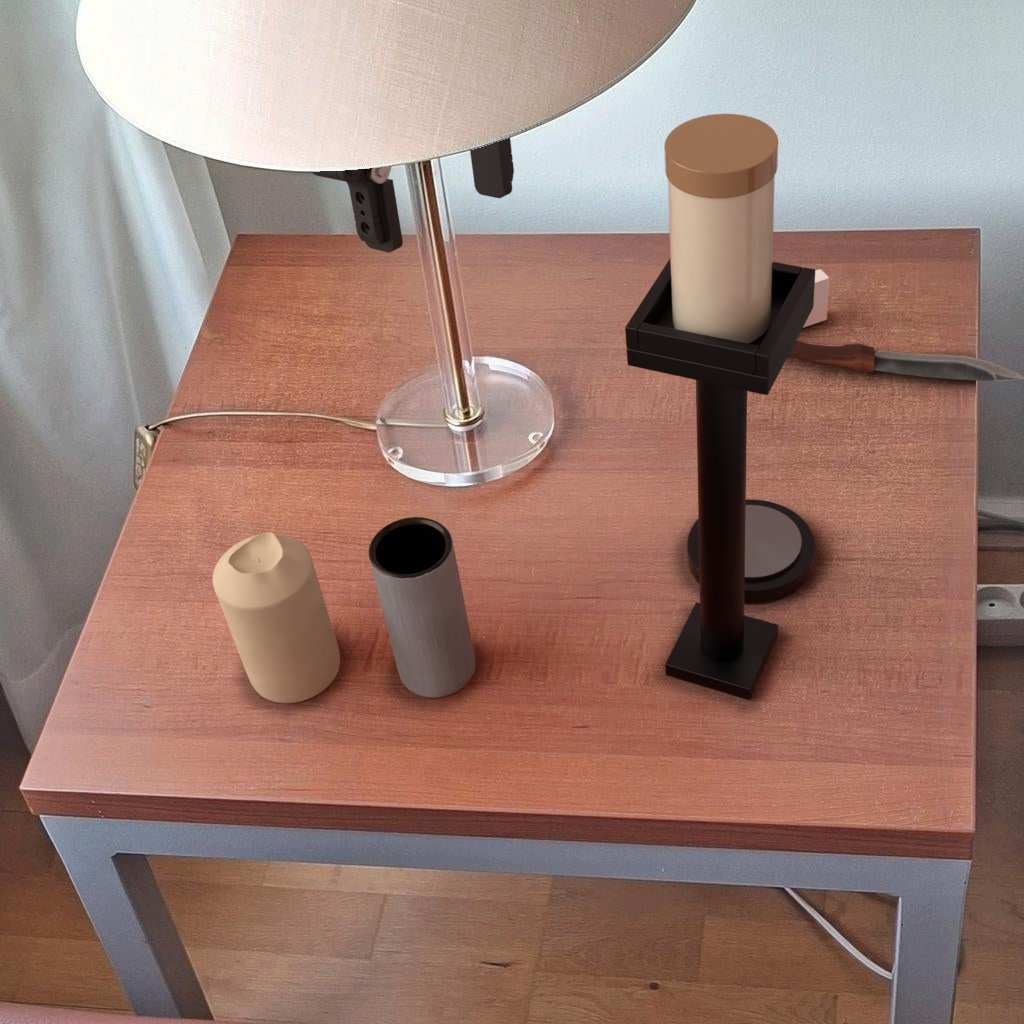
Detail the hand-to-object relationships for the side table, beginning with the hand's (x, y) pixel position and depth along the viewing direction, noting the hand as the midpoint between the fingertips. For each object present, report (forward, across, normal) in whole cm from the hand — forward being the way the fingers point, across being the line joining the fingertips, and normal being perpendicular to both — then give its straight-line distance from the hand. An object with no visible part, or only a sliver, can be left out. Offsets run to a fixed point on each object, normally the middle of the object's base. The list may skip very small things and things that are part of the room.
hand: (441, 220), depth 76 cm
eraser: (+18, +30, -3) cm, 35 cm away
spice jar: (+1, -1, -19) cm, 19 cm away
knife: (+19, +28, -12) cm, 36 cm away
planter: (+24, -8, -2) cm, 26 cm away
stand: (+24, +2, -15) cm, 29 cm away
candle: (+24, -13, +5) cm, 28 cm away
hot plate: (+23, +10, -12) cm, 28 cm away
